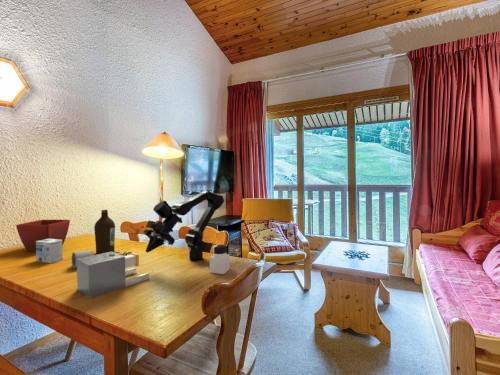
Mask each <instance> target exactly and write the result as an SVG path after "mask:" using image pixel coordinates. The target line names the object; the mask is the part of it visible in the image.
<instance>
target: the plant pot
mask: <svg viewBox="0 0 500 375" xmlns="http://www.w3.org/2000/svg"><path fill="white" fill-rule="evenodd" d="M70 223H71V220H70V219H39V220H33V221H28V222H23V223H17V224H16V225H15V227H16V230H17V233H18V237H19V239H20V241H21V243H22V245H23V247H24V248H25V251H27V252H34V253H36V241H40V240H44V239H58V240H62V247H63V245H64V243H65V240H66V238H67V236H68V231H69V227H70Z"/></svg>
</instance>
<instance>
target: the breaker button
mask: <svg viewBox="0 0 500 375" xmlns="http://www.w3.org/2000/svg"><path fill="white" fill-rule="evenodd" d="M123 256H124V257H125V269H127V268H130V267H135V268H137V267H139V266H140V257H139V253H136V252H130V254H128V255H123Z"/></svg>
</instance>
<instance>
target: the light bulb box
mask: <svg viewBox="0 0 500 375" xmlns="http://www.w3.org/2000/svg"><path fill="white" fill-rule="evenodd" d="M35 258H36V259H35V261H36V262H40V263H45V264H51V263H55V262H59V261H62V260H63V259H64V257H63V246H62V240H58V239H44V240H40V241H36V252H35Z"/></svg>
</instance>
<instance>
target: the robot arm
mask: <svg viewBox="0 0 500 375" xmlns="http://www.w3.org/2000/svg"><path fill="white" fill-rule="evenodd" d="M224 200H225V199H224V197H223V195H221V194H220V195H219V194H216V193H213V192H211V191H209V190H203V191H201V192H200V193H198V194H197V195H194V196H193V197H191V198H189V199H187V200H186V201H185V200H184V201H180V202H176V203H174V204H173V205H170V204H168V202H167V201H166V200H162V201H161V202H158V203H157V204H155V206H154V207H153V212H154V213H156V214H157V215H158V216H159V217H160V218H161V219H163V221H161V220H156V221H155V220H154V221H153V220H148V221H147V222H146V223H147V224H146V226H145V230H144V231H143V232H142V233H143V235H145V236H146V237H147V238H148V239H149V241H148V244H147V246H146V249H145V252H146V253H150V252H152V251H153V250H155V249H157V248H159V247H161V246H164V245H165V242H166V241H167V244H168V245H170V246H173V245H174V244H175V242H176V241H175V238H174V237H173V236H172V235H171V234H170V233H172V232H174V228H175V227H176V225H177V224H178V223H179V224H182V223H183V220H182V218H183V217H182V216H186V215H187V214H188V213H190V212H191V210H192V208H194V207H196V206H197V205H200V204H201V203H202V202H204V201H207V207H206V209H205V210H204V212H203V214H202V216H201V218H200V219H199V221H198V222H197V224H196V226H195V227H194V228H191V229H190V228H189V230H188V231H187V233H186V234H185V237H184V240H185V244H186V245H187V247H188V248H189V250H188V259H189V260H190V261H191V262H193V261H194V262H195V261H203V260H204V257H203V256H204V255H203V254H204V253H203V252H204V251H203V249H206V243H205V241H203V239H204V231H206V228H207V226H208V224H209V223H210V221H211V219H212V217H213V216H214V214H215V212H216V211H217V210H218V209H220V208H221V207H222V205H223V204H224V202H225V201H224ZM180 216H181V217H180Z"/></svg>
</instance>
